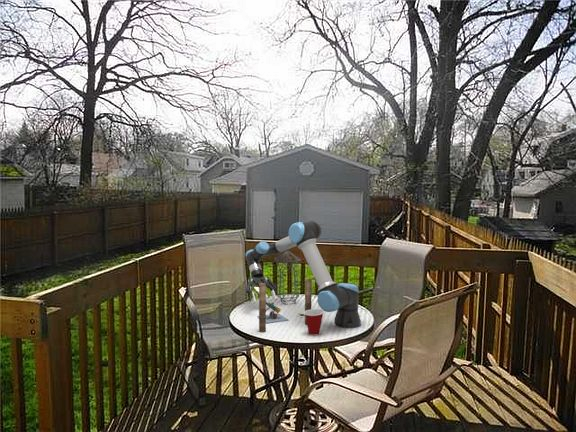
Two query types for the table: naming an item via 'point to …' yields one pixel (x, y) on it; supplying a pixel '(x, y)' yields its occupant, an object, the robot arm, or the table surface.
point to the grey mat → (278, 319)
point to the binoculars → (276, 309)
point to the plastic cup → (314, 320)
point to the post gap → (263, 302)
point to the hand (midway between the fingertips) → (265, 301)
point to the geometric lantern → (286, 272)
